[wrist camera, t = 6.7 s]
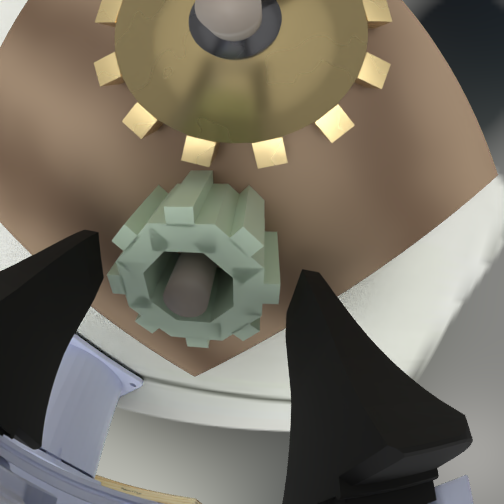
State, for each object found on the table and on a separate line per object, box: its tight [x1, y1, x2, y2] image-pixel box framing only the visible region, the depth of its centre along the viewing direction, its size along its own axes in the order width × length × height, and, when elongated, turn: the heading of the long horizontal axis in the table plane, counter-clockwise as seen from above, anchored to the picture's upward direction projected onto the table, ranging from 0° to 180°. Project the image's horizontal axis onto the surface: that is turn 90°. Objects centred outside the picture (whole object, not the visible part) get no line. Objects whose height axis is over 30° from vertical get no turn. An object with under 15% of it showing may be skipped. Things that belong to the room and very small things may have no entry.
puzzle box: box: [95, 475, 202, 504], centre depth 63 cm, size 36×5×24 cm
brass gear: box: [94, 0, 392, 169], centre depth 6 cm, size 9×9×4 cm
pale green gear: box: [107, 170, 280, 348], centre depth 10 cm, size 6×6×3 cm
